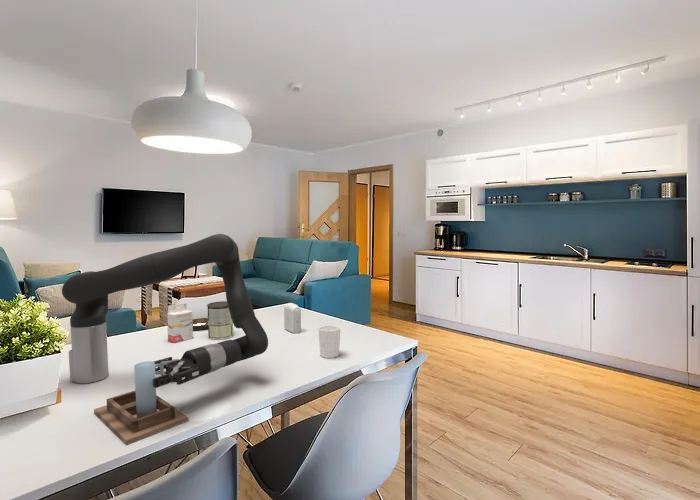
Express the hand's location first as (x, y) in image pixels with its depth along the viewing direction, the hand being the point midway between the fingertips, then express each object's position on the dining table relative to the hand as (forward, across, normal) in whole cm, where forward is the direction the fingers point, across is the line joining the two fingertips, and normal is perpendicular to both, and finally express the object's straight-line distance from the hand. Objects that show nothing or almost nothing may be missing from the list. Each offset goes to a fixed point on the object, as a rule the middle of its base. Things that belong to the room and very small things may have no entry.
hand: (144, 379), depth 95 cm
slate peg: (0, 0, +10) cm, 10 cm away
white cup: (-64, +5, +11) cm, 65 cm away
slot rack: (0, -4, +11) cm, 12 cm away
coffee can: (-55, -47, +11) cm, 73 cm away
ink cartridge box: (-42, -57, +11) cm, 71 cm away
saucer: (-58, -68, +11) cm, 90 cm away
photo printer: (-79, -29, +11) cm, 85 cm away
